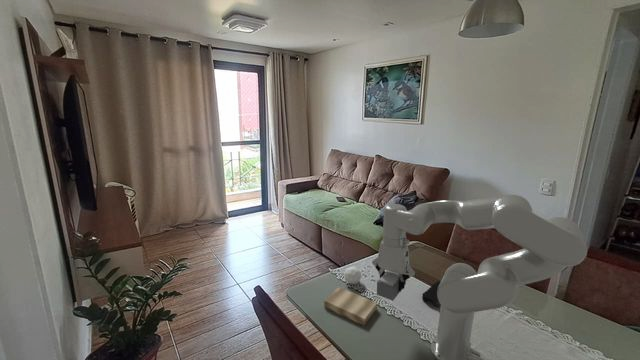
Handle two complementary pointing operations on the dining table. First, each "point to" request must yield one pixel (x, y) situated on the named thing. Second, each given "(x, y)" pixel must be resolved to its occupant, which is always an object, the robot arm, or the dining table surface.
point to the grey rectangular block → (389, 285)
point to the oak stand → (351, 305)
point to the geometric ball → (352, 275)
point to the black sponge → (432, 295)
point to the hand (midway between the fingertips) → (391, 285)
